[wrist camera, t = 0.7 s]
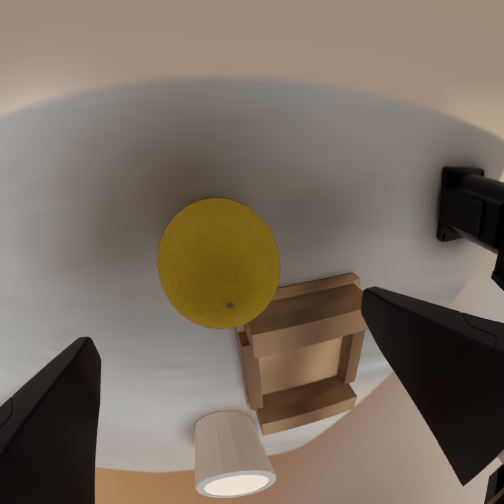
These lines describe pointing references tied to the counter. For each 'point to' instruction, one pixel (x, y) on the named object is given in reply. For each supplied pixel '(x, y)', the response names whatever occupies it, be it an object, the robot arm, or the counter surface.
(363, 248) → the counter surface
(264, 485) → the shot glass
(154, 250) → the counter surface
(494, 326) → the robot arm
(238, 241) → the lemon
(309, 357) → the cradle
